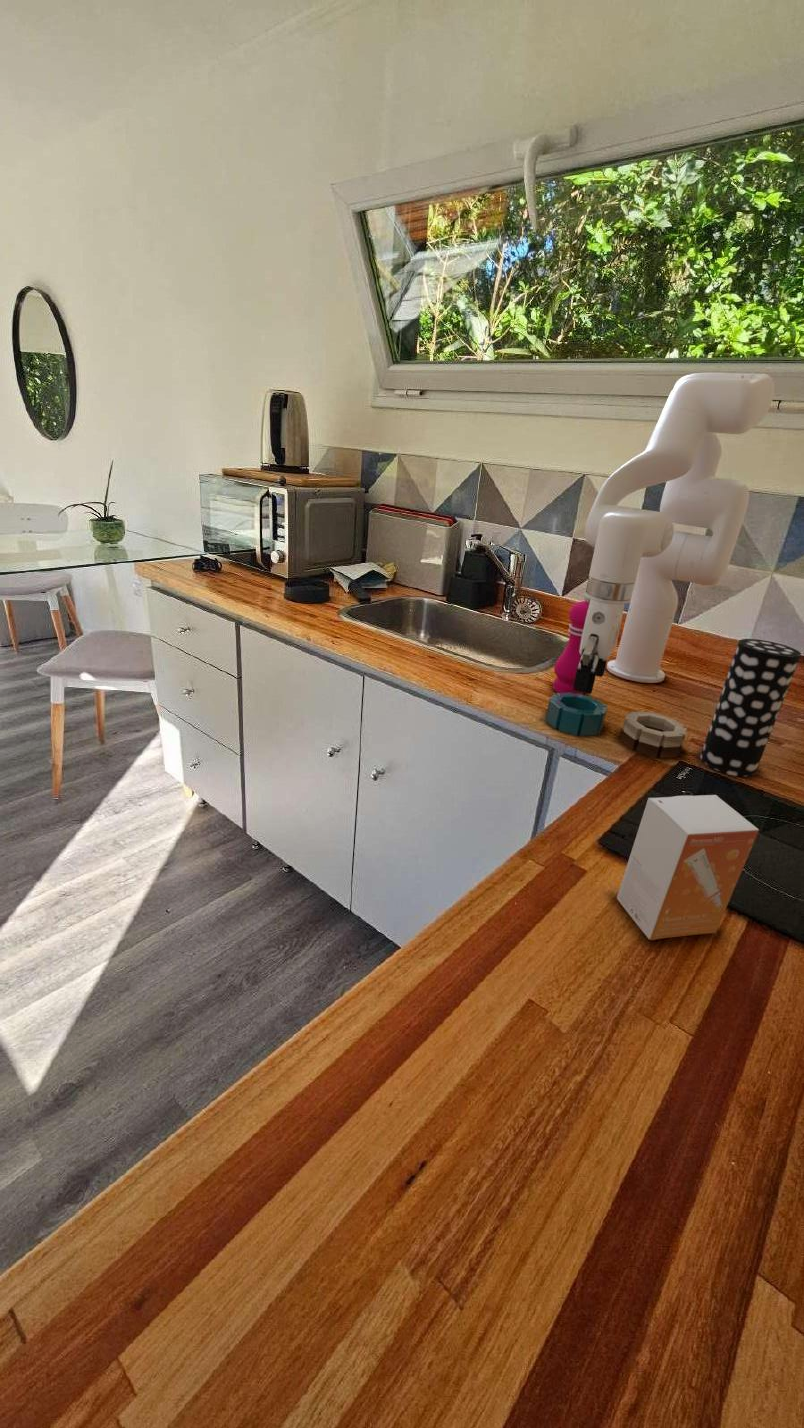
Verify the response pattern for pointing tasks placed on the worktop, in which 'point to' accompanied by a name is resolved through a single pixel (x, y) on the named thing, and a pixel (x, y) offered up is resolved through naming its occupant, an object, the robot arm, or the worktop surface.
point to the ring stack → (653, 734)
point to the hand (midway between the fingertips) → (588, 682)
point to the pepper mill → (571, 650)
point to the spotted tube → (749, 706)
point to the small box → (685, 865)
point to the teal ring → (576, 714)
